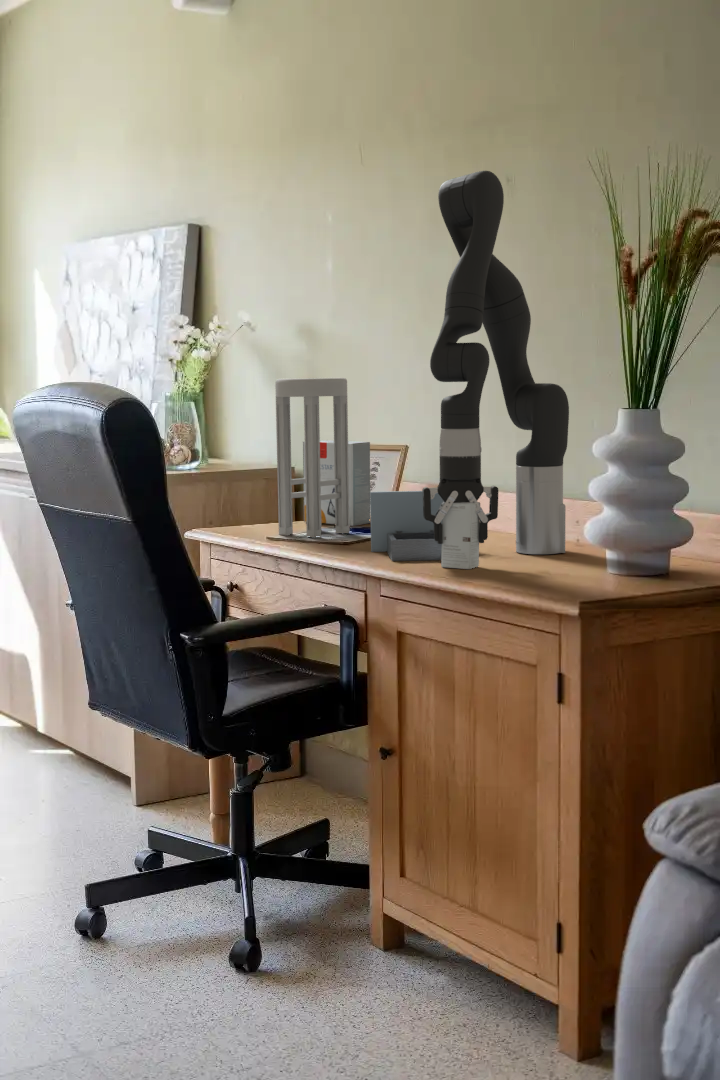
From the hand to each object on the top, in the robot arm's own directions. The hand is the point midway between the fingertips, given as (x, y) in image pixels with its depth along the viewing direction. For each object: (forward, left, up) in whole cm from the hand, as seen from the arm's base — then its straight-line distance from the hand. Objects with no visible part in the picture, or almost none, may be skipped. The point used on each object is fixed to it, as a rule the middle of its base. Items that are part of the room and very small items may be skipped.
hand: (460, 543), depth 239 cm
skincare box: (0, 0, -5) cm, 5 cm away
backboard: (+6, -25, -4) cm, 26 cm away
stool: (+26, -57, -5) cm, 63 cm away
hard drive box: (+20, -79, -5) cm, 82 cm away
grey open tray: (+6, -17, -4) cm, 19 cm away
